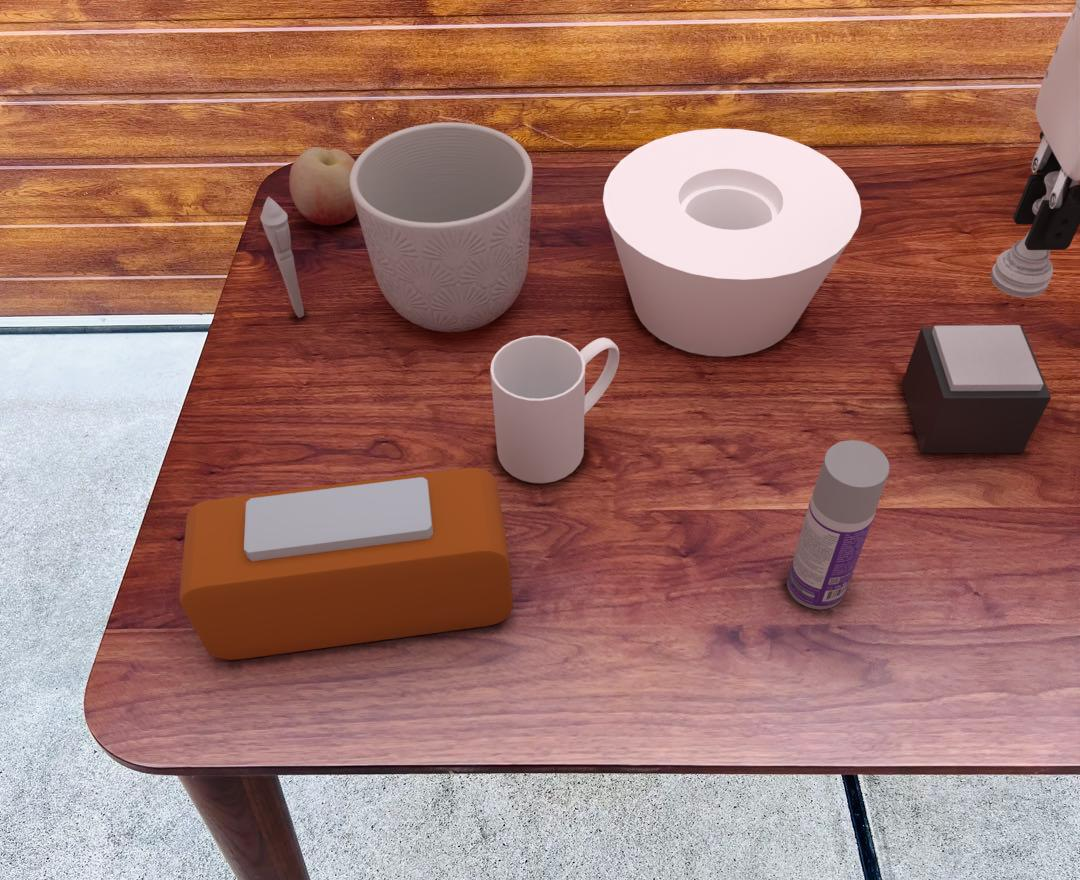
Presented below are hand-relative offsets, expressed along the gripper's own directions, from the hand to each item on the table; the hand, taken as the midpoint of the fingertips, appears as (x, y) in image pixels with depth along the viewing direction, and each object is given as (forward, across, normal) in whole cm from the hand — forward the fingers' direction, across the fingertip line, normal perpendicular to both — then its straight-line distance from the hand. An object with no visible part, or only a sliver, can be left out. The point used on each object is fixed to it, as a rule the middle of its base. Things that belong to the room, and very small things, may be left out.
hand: (1040, 233), depth 77 cm
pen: (+20, +15, +64) cm, 69 cm away
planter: (+20, +17, +48) cm, 55 cm away
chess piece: (+5, 0, 0) cm, 5 cm away
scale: (+20, 0, 0) cm, 20 cm away
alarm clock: (+20, -21, +53) cm, 60 cm away
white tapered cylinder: (+20, +17, +21) cm, 34 cm away
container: (+20, -19, +16) cm, 32 cm away
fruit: (+20, +32, +63) cm, 74 cm away
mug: (+20, -3, +37) cm, 42 cm away
